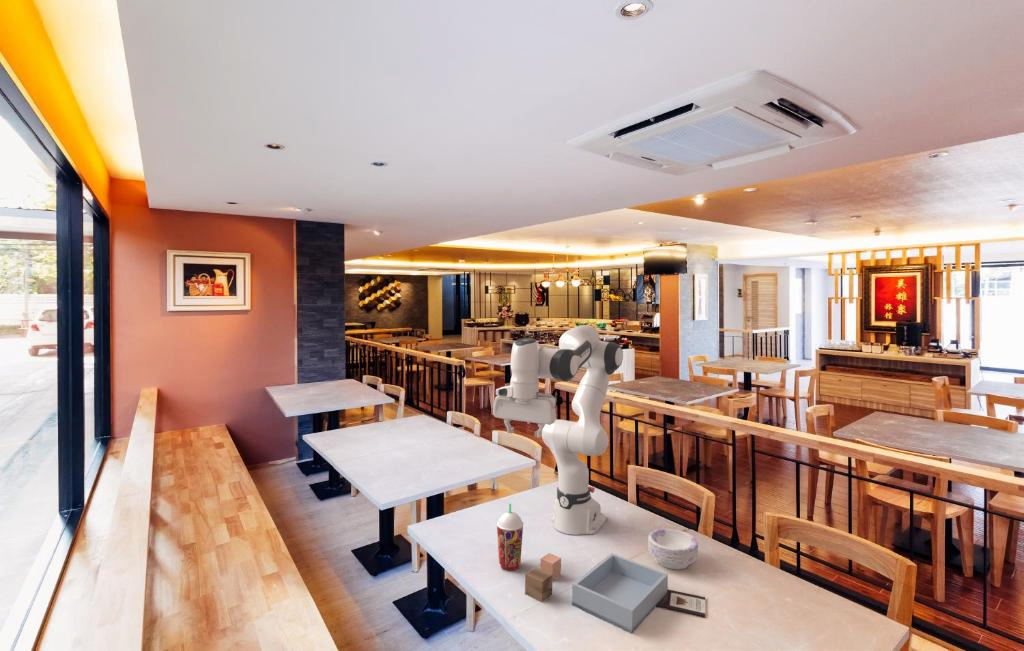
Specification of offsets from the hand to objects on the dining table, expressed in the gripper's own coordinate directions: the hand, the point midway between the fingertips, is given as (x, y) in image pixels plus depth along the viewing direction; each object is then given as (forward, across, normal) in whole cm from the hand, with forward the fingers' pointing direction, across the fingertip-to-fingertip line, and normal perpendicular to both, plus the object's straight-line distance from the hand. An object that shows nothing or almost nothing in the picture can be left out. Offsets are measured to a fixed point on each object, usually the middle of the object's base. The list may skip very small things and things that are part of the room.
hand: (523, 435), depth 156 cm
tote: (+42, -32, +3) cm, 53 cm away
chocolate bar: (+42, -45, -3) cm, 62 cm away
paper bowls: (+42, -42, -24) cm, 64 cm away
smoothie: (+42, +3, +2) cm, 42 cm away
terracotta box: (+42, -10, +1) cm, 43 cm away
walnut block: (+42, -11, +12) cm, 45 cm away
